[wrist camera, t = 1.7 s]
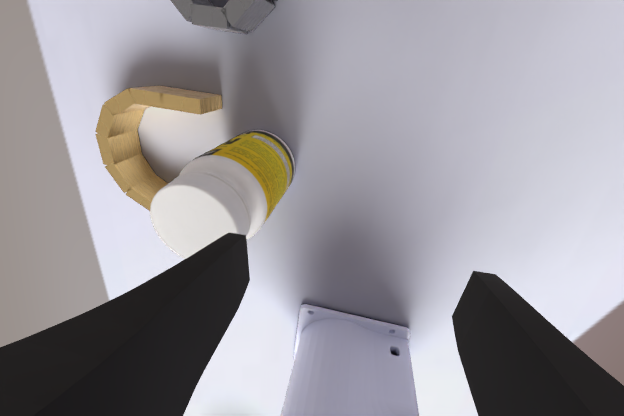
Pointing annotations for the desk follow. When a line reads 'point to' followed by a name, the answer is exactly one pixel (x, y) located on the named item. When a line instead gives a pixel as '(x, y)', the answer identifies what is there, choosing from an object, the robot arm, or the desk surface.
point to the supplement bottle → (223, 192)
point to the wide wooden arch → (125, 141)
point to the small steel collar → (225, 14)
